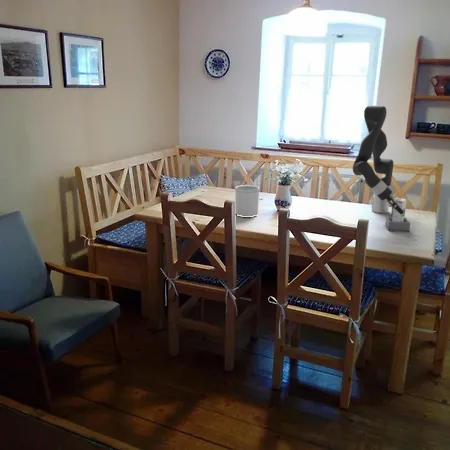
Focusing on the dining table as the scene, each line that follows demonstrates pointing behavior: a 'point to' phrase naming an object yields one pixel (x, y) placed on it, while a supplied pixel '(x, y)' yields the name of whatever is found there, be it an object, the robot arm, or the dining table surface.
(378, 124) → the robot arm
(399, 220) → the syrup box
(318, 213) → the dining table surface
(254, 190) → the utensil holder
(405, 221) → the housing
